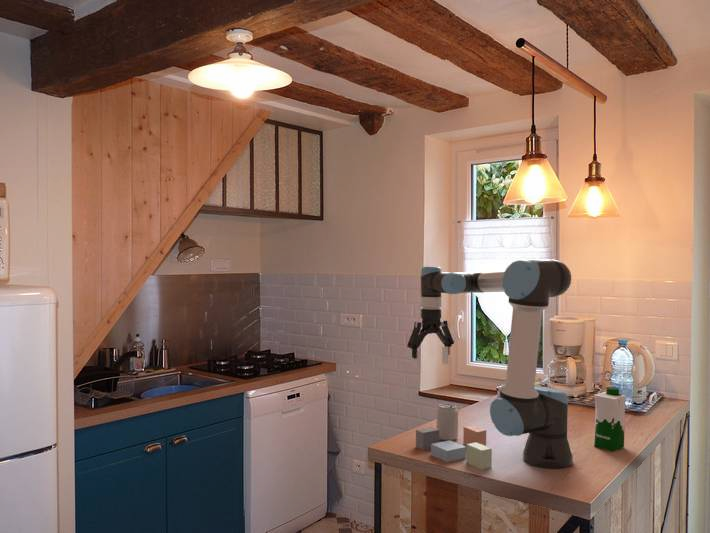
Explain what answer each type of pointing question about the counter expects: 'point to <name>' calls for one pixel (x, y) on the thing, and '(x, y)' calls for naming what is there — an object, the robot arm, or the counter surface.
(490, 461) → the sage brick
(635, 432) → the counter surface
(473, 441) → the terracotta brick
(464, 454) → the slate blue brick
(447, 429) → the can
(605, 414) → the milk carton
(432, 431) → the charcoal brick
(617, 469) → the counter surface
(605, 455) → the counter surface
